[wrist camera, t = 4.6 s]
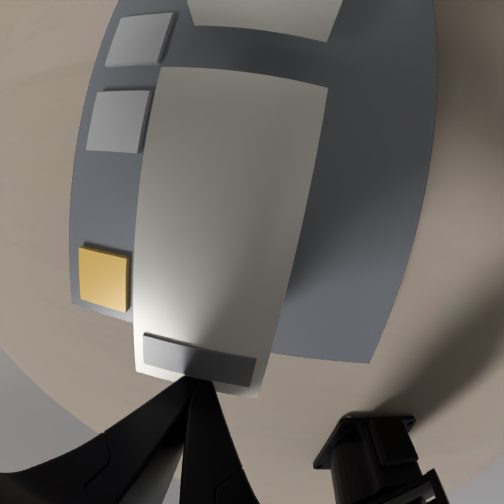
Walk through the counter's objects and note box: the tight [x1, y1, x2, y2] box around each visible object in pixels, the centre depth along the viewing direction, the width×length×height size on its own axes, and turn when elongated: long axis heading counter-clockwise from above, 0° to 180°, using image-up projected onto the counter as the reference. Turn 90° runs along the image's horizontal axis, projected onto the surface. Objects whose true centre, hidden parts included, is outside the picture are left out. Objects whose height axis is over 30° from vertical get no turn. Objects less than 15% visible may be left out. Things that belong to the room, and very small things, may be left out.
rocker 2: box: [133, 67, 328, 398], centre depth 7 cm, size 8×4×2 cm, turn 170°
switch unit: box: [69, 0, 437, 363], centre depth 10 cm, size 20×14×4 cm
